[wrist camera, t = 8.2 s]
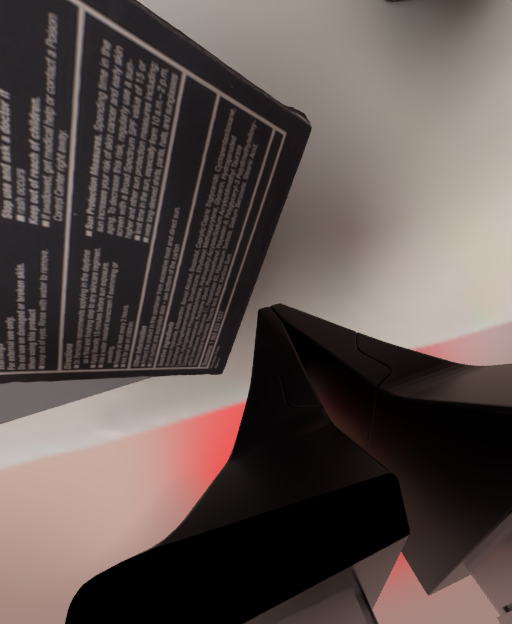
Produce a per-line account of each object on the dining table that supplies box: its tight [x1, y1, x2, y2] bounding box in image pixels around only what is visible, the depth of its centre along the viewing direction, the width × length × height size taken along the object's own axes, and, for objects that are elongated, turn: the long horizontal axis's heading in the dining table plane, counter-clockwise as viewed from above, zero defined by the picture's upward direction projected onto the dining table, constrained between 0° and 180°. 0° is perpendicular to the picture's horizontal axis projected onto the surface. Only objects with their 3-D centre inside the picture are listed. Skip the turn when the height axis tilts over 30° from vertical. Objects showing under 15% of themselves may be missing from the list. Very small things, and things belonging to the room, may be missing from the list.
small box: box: [0, 0, 312, 384], centre depth 9 cm, size 11×6×10 cm
